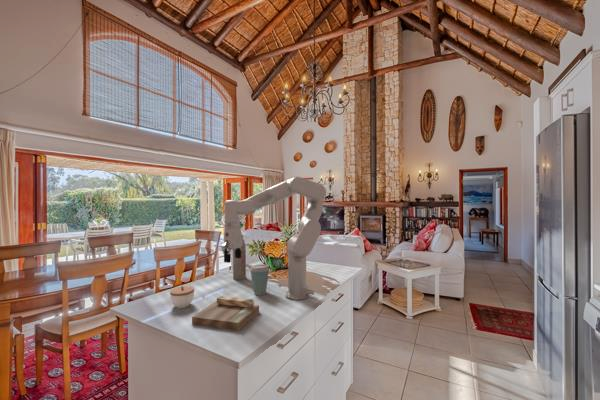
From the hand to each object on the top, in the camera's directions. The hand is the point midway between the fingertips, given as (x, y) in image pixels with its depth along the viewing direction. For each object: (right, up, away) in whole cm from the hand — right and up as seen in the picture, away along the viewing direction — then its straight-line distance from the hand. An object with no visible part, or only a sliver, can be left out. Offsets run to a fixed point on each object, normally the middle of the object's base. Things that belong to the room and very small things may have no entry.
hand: (232, 260), depth 134 cm
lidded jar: (-24, -22, -2) cm, 32 cm away
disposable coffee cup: (+11, -21, +15) cm, 28 cm away
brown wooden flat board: (+1, -22, -16) cm, 27 cm away
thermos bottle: (-6, -21, +42) cm, 47 cm away
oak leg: (+3, -18, -10) cm, 21 cm away
